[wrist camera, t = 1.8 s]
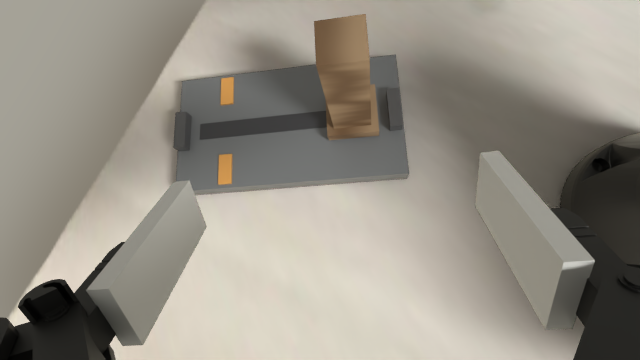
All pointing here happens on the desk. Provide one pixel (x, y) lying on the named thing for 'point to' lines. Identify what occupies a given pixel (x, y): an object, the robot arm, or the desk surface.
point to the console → (282, 132)
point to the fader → (346, 77)
